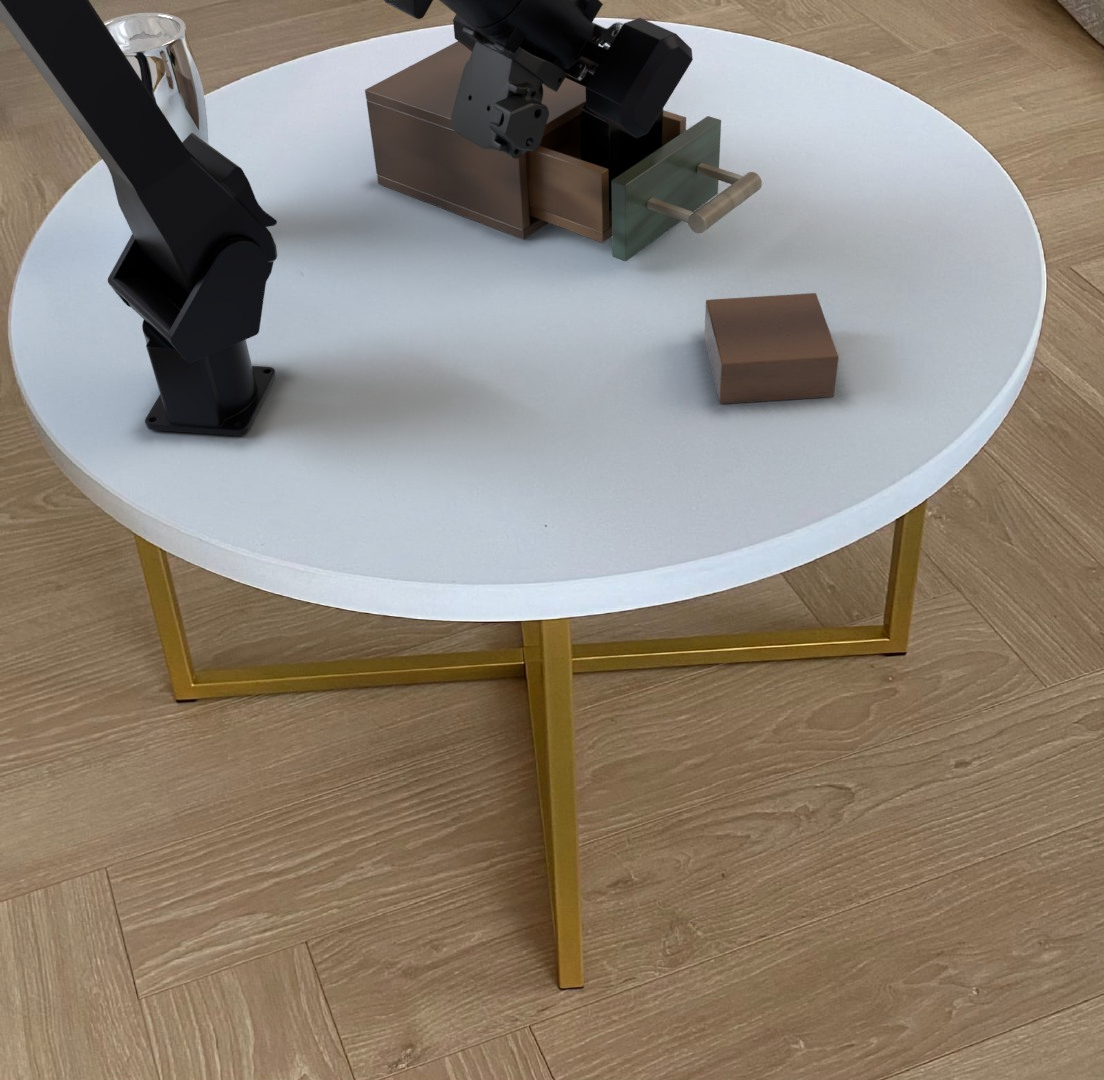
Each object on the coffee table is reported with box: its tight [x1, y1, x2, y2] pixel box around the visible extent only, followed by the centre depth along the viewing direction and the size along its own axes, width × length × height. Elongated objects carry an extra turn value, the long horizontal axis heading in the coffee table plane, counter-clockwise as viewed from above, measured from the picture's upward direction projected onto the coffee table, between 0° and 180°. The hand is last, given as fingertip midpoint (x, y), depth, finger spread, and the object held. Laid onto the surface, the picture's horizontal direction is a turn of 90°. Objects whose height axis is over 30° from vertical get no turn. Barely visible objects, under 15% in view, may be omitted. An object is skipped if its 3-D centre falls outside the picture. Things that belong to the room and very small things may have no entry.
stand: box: [703, 292, 839, 405], centre depth 84 cm, size 7×7×3 cm
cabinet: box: [364, 40, 586, 240], centre depth 102 cm, size 15×13×8 cm
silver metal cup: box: [103, 12, 209, 144], centre depth 95 cm, size 7×7×15 cm
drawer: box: [525, 109, 763, 262], centre depth 96 cm, size 18×11×6 cm, turn 51°
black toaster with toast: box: [581, 80, 664, 211], centre depth 95 cm, size 3×5×8 cm
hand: (635, 102), depth 94 cm, fingers open, 4 cm apart
